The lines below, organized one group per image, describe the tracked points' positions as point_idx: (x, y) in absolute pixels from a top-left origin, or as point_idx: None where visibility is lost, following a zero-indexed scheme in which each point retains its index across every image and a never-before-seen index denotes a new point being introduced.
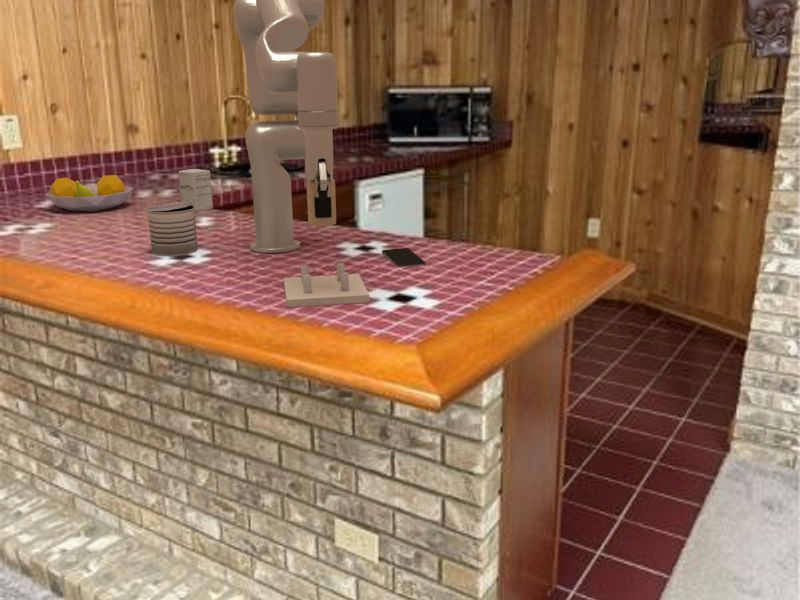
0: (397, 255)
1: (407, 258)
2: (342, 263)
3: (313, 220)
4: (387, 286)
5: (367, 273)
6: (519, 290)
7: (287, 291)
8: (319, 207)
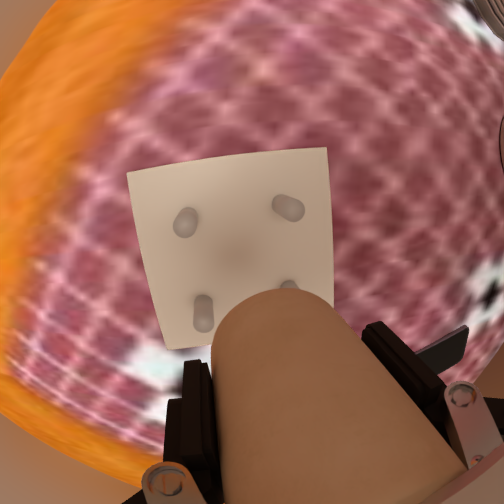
0: (440, 354)
1: None
2: None
3: (222, 333)
4: None
5: (372, 322)
6: None
7: (198, 164)
8: (166, 423)
